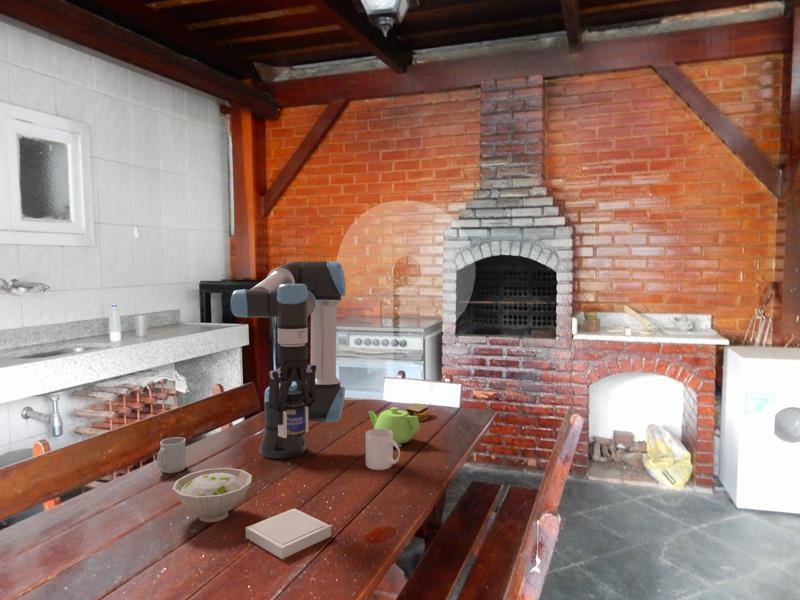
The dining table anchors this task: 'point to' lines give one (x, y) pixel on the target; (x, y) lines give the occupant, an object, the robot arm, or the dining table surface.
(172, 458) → the cup
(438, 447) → the dining table surface
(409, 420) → the teapot
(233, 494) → the bowl
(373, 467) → the mug
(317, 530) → the square plate
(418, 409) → the toy sandwich meal
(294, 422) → the pill bottle
